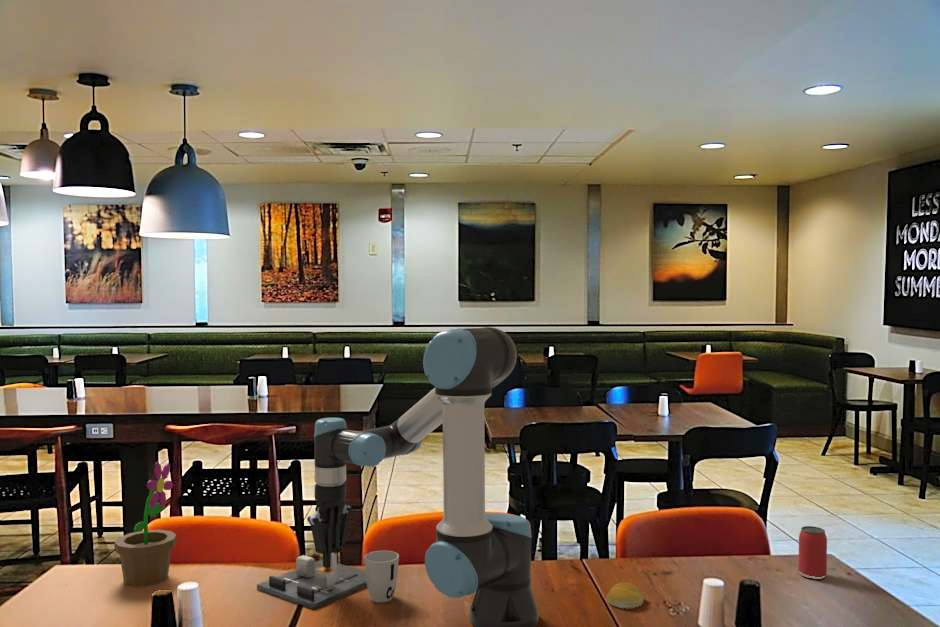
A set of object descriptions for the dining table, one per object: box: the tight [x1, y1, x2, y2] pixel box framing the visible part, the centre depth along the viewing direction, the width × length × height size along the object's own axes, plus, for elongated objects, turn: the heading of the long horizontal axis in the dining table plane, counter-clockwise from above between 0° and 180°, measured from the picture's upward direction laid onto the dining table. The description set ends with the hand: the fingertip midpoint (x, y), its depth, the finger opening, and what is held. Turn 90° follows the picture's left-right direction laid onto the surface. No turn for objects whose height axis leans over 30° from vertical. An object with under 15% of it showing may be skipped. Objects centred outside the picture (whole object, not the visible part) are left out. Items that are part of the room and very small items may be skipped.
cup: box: [363, 550, 400, 603], centre depth 179 cm, size 8×8×10 cm
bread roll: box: [605, 581, 645, 610], centre depth 178 cm, size 8×9×4 cm
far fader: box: [295, 554, 315, 578], centre depth 190 cm, size 4×2×4 cm, turn 54°
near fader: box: [315, 567, 334, 591], centre depth 182 cm, size 4×2×4 cm, turn 54°
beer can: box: [798, 525, 828, 577], centre depth 195 cm, size 7×7×12 cm
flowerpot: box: [113, 461, 177, 587], centre depth 191 cm, size 14×14×30 cm
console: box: [256, 559, 367, 610], centre depth 188 cm, size 20×22×3 cm
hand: (330, 579), depth 184 cm, fingers closed
